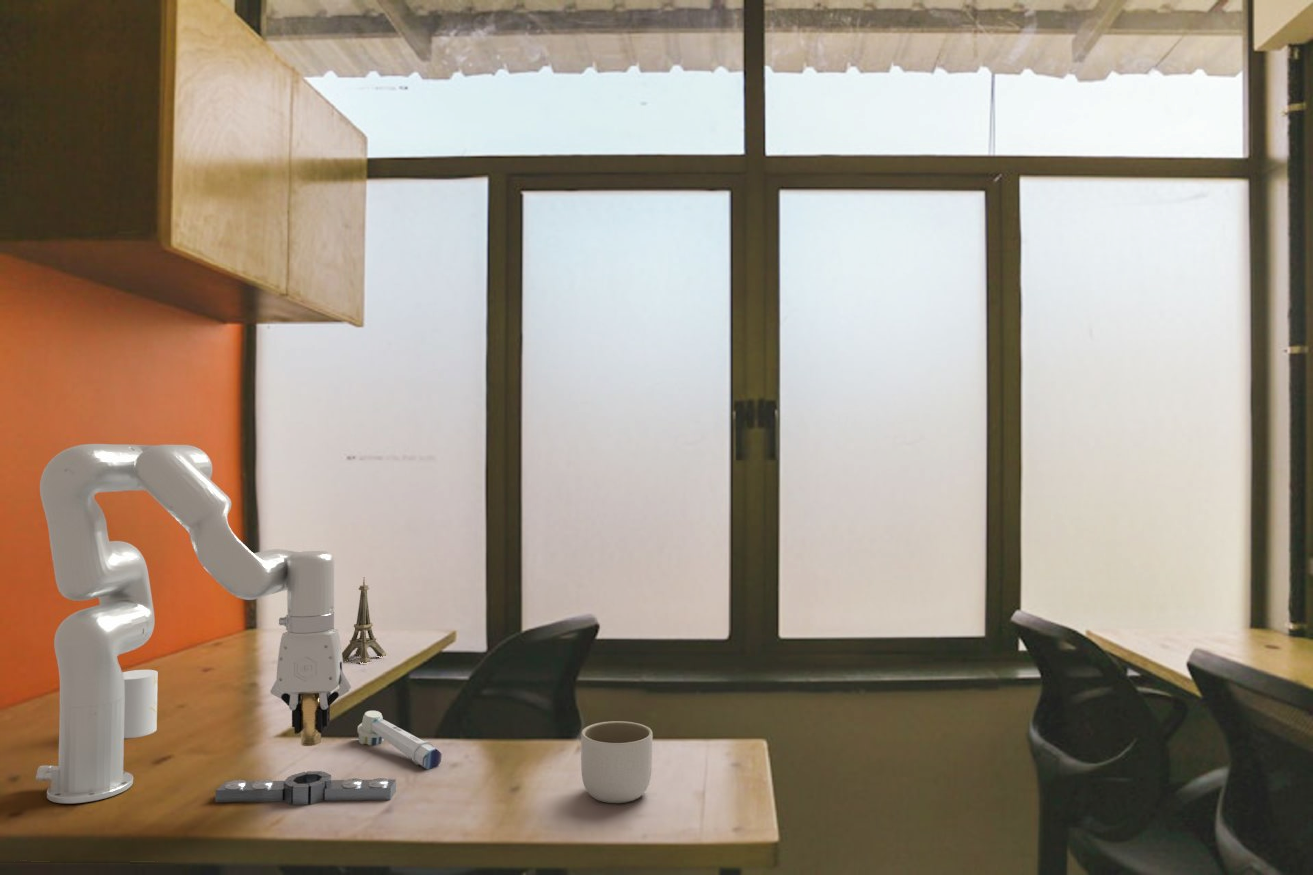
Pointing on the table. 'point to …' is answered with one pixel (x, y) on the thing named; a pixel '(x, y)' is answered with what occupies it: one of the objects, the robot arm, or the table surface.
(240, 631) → the table surface
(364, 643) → the eiffel tower
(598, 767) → the planter
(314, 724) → the pin
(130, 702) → the cup
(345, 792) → the studded octagon ring bar
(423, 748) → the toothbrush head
